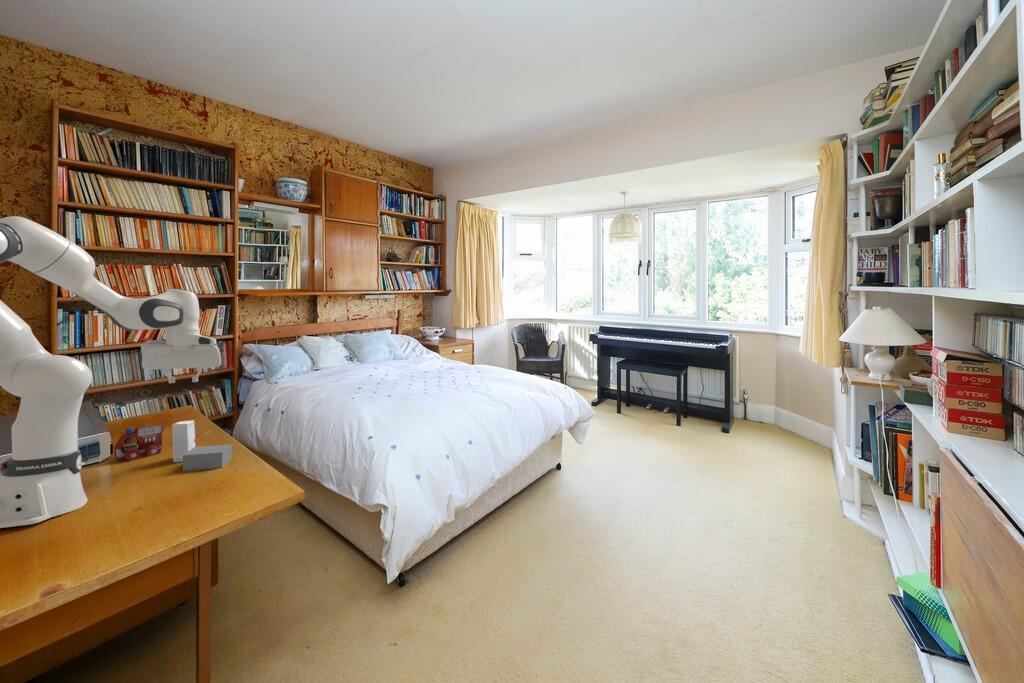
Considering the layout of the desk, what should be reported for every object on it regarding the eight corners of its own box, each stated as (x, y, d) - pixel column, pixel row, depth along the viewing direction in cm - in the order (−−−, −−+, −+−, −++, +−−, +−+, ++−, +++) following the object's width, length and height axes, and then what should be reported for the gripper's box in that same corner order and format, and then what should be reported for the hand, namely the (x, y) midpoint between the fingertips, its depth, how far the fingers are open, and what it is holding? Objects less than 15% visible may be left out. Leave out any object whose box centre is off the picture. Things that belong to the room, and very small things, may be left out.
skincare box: (188, 461, 135) (188, 423, 135) (171, 462, 133) (171, 424, 133) (196, 456, 141) (195, 419, 140) (180, 457, 139) (179, 420, 139)
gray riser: (182, 472, 125) (182, 455, 125) (195, 462, 135) (195, 446, 135) (222, 468, 129) (222, 452, 129) (231, 459, 138) (231, 444, 138)
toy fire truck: (111, 460, 136) (110, 428, 136) (159, 451, 146) (159, 421, 146) (117, 464, 132) (117, 431, 132) (166, 455, 142) (166, 424, 142)
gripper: (138, 340, 128) (139, 385, 129) (220, 339, 139) (220, 381, 139) (143, 339, 134) (143, 383, 134) (221, 339, 144) (221, 379, 145)
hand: (183, 382), depth 137 cm, fingers open, 5 cm apart
